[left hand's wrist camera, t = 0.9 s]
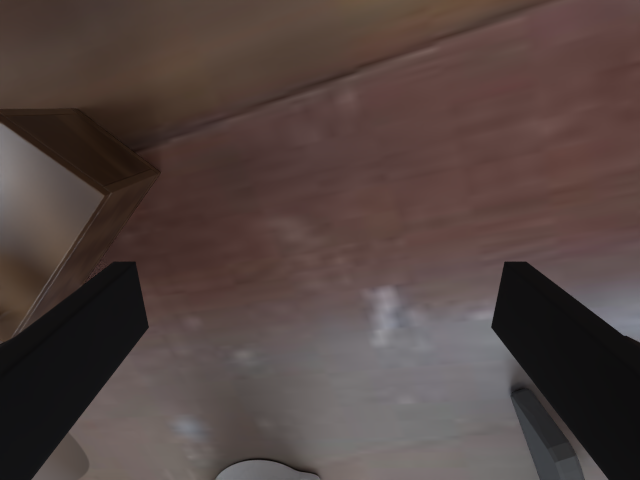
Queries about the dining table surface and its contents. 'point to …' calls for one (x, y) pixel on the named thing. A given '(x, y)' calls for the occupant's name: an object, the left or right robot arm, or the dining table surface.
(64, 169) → the lid
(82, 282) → the chest
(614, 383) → the left robot arm
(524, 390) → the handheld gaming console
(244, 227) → the dining table surface
